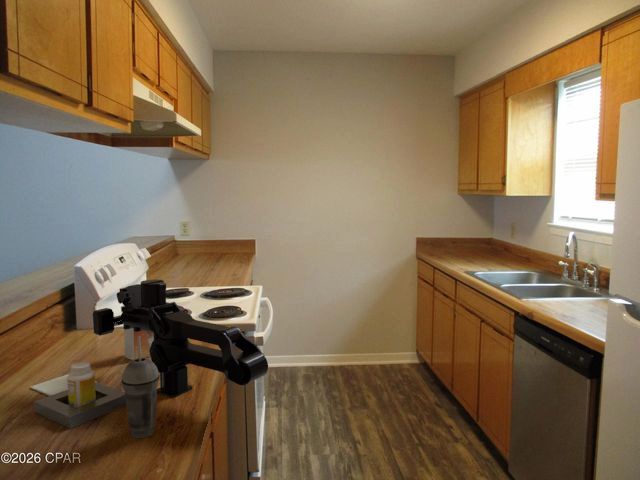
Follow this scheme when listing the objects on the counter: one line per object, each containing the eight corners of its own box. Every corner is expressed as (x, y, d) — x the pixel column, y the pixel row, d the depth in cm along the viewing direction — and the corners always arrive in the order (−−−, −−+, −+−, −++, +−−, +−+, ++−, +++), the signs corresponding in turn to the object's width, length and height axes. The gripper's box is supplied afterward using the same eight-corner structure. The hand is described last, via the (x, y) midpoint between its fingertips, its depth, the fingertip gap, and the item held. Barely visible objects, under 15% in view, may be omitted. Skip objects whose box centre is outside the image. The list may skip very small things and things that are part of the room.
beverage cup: (124, 444, 95) (120, 345, 93) (122, 428, 101) (119, 335, 99) (162, 437, 98) (159, 340, 96) (159, 421, 104) (156, 331, 102)
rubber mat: (97, 382, 125) (97, 381, 125) (54, 398, 116) (54, 396, 116) (72, 374, 131) (72, 372, 131) (30, 388, 122) (30, 386, 122)
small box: (134, 361, 141) (132, 326, 140) (124, 357, 144) (123, 323, 143) (158, 354, 147) (157, 320, 146) (149, 350, 150) (147, 317, 149)
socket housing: (128, 403, 113) (128, 393, 113) (70, 428, 101) (70, 417, 101) (92, 390, 120) (92, 380, 120) (34, 412, 109) (34, 401, 108)
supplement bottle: (99, 402, 114) (97, 360, 113) (90, 413, 108) (88, 368, 107) (74, 403, 113) (72, 360, 112) (64, 414, 108) (62, 369, 107)
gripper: (174, 282, 131) (136, 277, 139) (112, 294, 115) (74, 288, 124) (175, 323, 132) (137, 315, 140) (114, 340, 116) (76, 330, 125)
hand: (108, 311), depth 132 cm, fingers open, 9 cm apart
